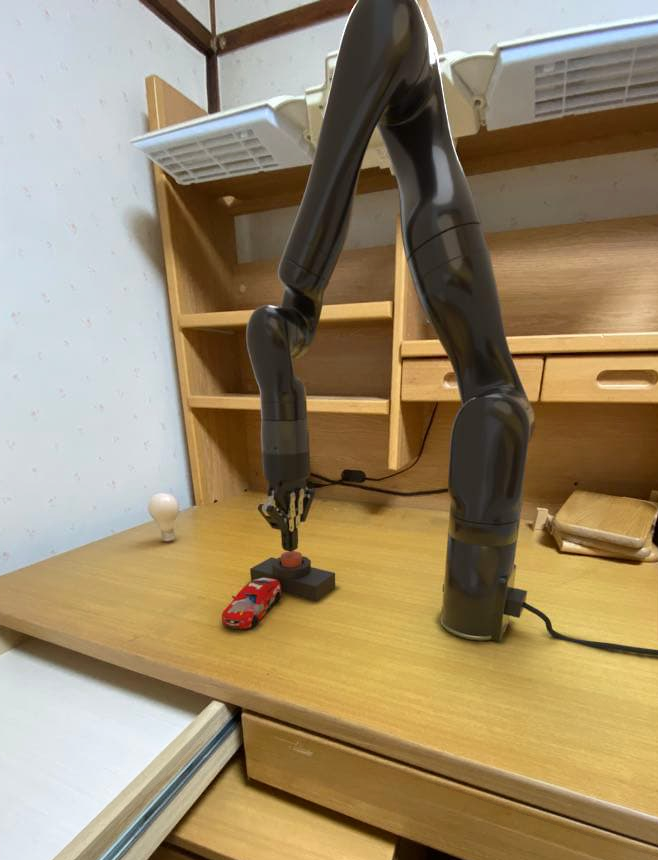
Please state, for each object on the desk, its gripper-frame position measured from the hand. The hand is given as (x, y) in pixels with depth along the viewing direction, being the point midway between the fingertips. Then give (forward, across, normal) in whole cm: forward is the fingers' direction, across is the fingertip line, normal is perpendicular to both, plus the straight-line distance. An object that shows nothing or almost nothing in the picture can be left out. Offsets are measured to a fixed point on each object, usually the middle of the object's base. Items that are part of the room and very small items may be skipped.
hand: (290, 549), depth 79 cm
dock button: (+3, 0, 0) cm, 3 cm away
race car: (+7, -10, 0) cm, 13 cm away
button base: (+7, 0, 0) cm, 7 cm away
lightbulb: (+7, +4, +37) cm, 38 cm away
